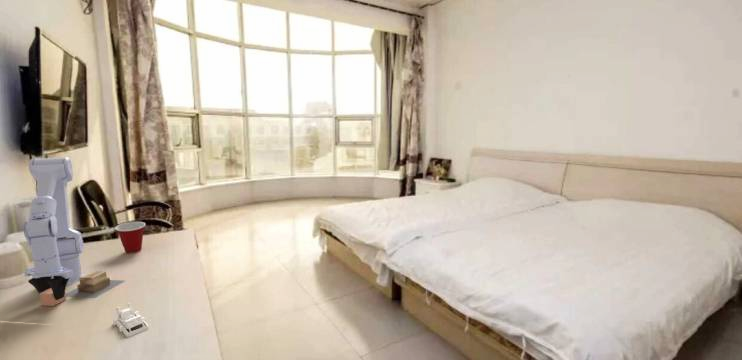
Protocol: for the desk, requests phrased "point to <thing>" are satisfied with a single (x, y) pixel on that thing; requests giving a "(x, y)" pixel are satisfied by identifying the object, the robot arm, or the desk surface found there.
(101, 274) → the tower middle
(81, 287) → the tower base
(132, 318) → the toy car
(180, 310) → the desk surface
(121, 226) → the plastic cup
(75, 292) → the mat
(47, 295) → the cube
